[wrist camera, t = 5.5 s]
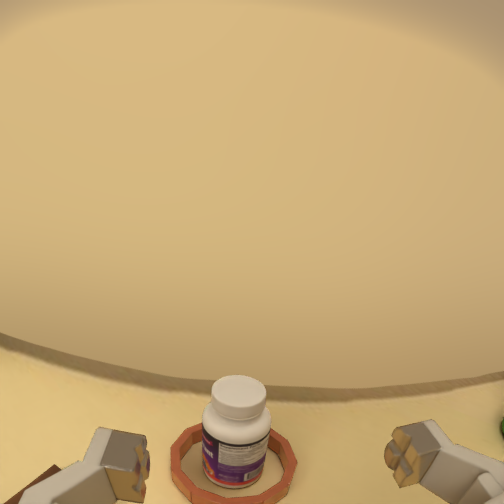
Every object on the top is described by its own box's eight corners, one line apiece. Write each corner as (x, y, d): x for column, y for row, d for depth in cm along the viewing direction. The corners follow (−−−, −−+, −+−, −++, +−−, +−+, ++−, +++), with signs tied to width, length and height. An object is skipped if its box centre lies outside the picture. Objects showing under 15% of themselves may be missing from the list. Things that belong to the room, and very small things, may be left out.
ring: (149, 485, 20) (147, 473, 20) (203, 418, 30) (203, 406, 30) (273, 529, 17) (276, 520, 17) (303, 445, 27) (306, 434, 27)
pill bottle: (203, 447, 26) (203, 367, 24) (259, 448, 27) (271, 370, 25) (201, 489, 21) (200, 411, 19) (265, 489, 21) (282, 412, 19)
